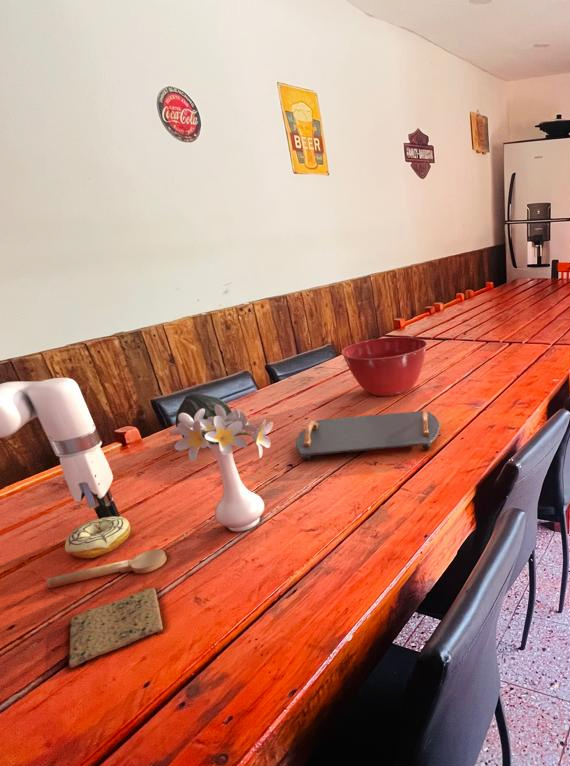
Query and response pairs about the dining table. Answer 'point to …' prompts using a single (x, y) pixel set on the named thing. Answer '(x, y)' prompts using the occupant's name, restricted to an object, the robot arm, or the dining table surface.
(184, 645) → the dining table surface
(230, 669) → the dining table surface
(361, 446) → the serving tray
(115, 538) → the decorated donut
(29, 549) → the dining table surface
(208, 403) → the squash
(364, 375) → the mixing bowl
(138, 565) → the spoon
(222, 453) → the flower vase
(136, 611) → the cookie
